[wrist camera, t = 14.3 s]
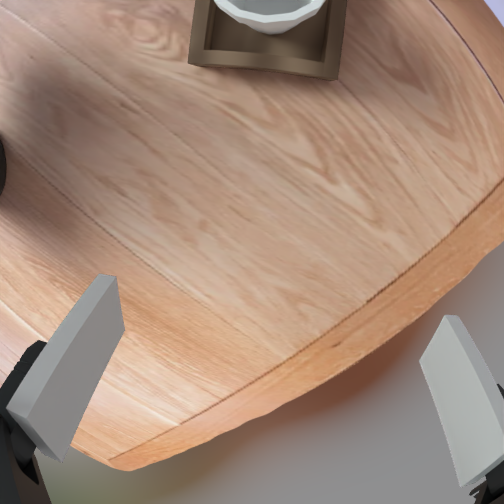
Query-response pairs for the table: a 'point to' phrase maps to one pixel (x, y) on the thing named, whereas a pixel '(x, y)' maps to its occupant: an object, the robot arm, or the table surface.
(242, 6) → the foam cup
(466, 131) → the table surface
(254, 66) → the square wooden tray
